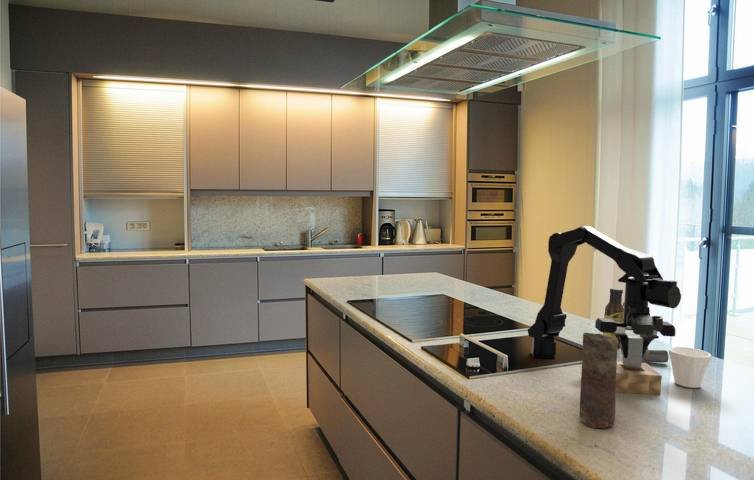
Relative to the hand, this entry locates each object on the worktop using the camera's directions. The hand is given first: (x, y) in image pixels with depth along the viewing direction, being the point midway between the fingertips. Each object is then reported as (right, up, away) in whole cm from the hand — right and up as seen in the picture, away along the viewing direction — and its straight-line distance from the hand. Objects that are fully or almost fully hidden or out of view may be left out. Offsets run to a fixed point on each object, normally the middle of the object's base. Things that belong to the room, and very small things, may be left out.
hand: (632, 358), depth 145 cm
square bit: (0, -2, 0) cm, 2 cm away
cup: (+16, -8, +3) cm, 18 cm away
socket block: (0, -8, +1) cm, 8 cm away
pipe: (+14, -6, +23) cm, 28 cm away
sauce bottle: (+12, -5, +40) cm, 42 cm away
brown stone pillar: (-19, -9, -24) cm, 32 cm away
